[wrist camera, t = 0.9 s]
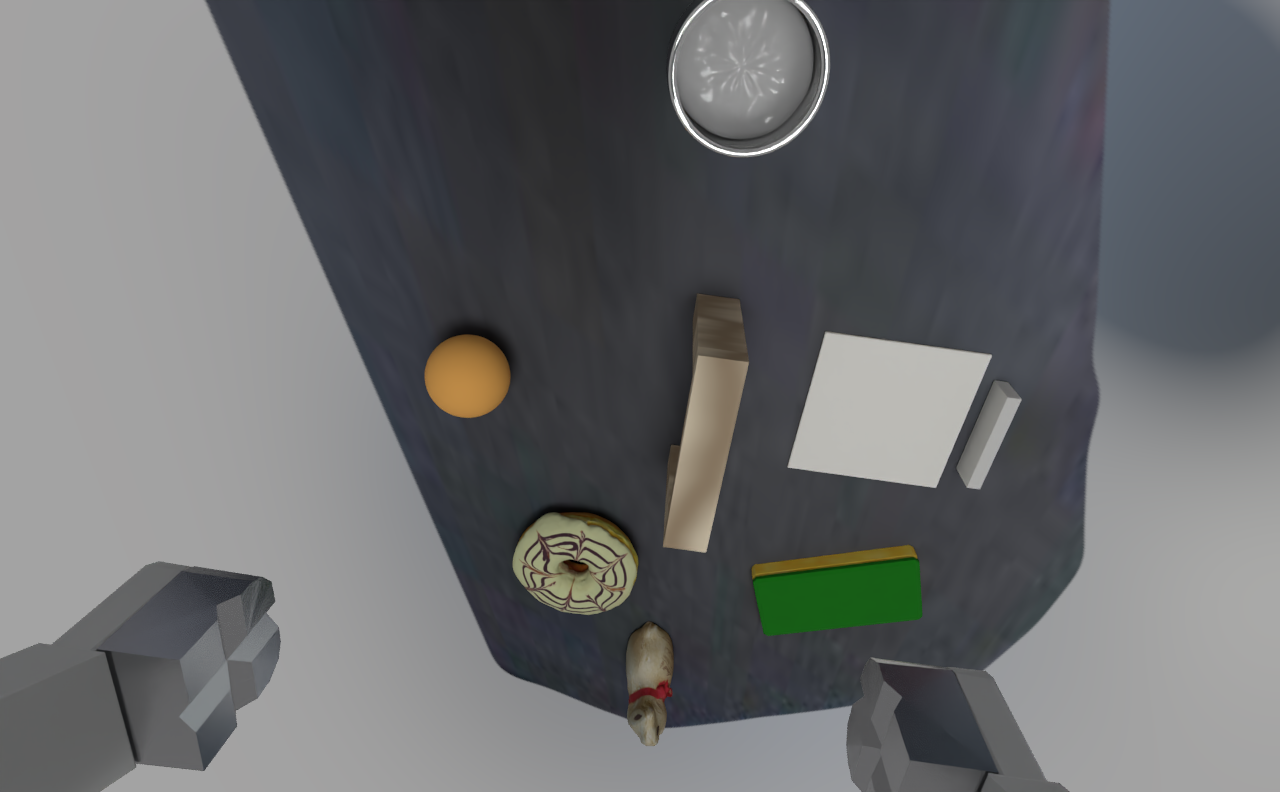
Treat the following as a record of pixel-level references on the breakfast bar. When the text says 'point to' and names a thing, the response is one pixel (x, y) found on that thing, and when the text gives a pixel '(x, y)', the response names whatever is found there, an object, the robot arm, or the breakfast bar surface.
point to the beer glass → (747, 73)
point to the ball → (467, 376)
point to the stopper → (988, 433)
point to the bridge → (706, 423)
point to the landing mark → (885, 408)
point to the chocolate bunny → (648, 681)
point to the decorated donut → (572, 583)
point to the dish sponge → (838, 590)
